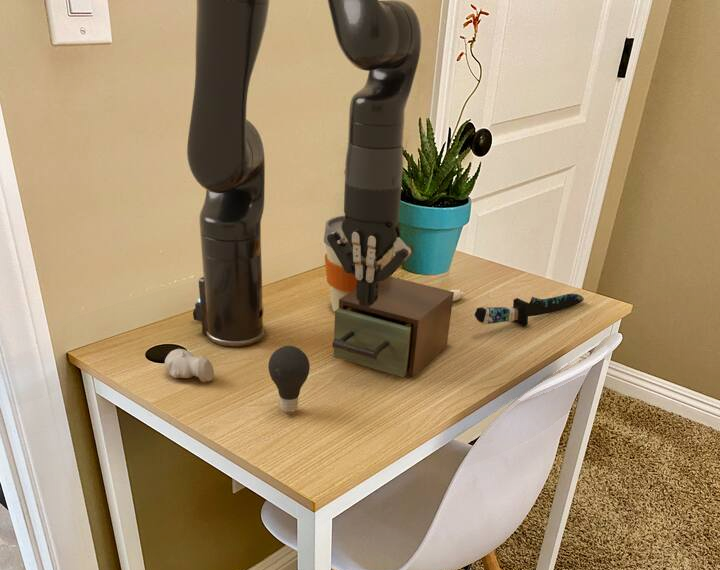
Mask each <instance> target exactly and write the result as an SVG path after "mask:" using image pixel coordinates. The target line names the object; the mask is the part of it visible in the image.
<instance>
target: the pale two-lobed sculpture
mask: <svg viewBox="0 0 720 570" xmlns="http://www.w3.org/2000/svg"><path fill="white" fill-rule="evenodd" d="M164 368H165V371H166V373H167V374H168V375H169V376H171V377H172V378H174V379H179V378H180V379H189V378H190V379H191V378H192V377H193V376H194V377H197V378H199V380H200V382H202V383H207V382H209V381H211V380H213V379H214V376H215V371H214V365H213V364H212V362H211V361H210V359H209V358H208V356H206V355H201V356H199V357H197V356H194V354H193V353H192V352H190V351H188V350H186V349H184V348H176V349H173V350H171V351H169V353H168V354H167V355H166V357H165V359H164Z"/></svg>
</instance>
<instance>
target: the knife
mask: <svg viewBox="0 0 720 570" xmlns="http://www.w3.org/2000/svg"><path fill="white" fill-rule="evenodd" d="M584 299H585V298H584V297H583V296H582V295H580V294H579V293H567V294H562V295H558V296H553V297H548V298H537V297H535V296H531V298H530V301H529V302H527V301H525V300H522V299H520V298H518V297H516V298H514V299H513V301H512V302H513V303H512V306H492V307H491V306H481V307H477V308H476V310H475V313H474V317H475V318H476V320H477V321H478V322H479V324H482V325H483V326H485V325H492V324H499V323H505V322H512V321H513V322H514V323H516V324H518V325H519V326H522V327H526V326H527V325H529V317H536V316H542V315H547V314H552V313H556V312H559V311H563V310H566V309H570V308H572V307H576V305H579V304H580V303H582V302H583V301H584Z"/></svg>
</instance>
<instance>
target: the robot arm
mask: <svg viewBox="0 0 720 570" xmlns="http://www.w3.org/2000/svg"><path fill="white" fill-rule="evenodd" d="M327 5H328V8H329V13H330V18H331V22H332V26H333V31H334V35H335V38H336V41H337V43H338V46H339V48H340V50H341V51H342V53H343V55H344V57H345V58H346V59H347V60H348V61H349V63H350V64H351V65H352V66H354V67H355V68H357V69H359V70H361V71H366V72H368V74H367V78H366V81H365V84H364V86H363V87H362V88H361V89H360V90H358V91H356V92H355V94H353V95H352V97H351V99H350V102H349V111H348V133H347V134H348V136H347V149H346V155H345V166H344V192H343V193H344V196H343V200H344V201H343V213H344V216H345V218H344V220H343V222H342V225H341V227H342V228H341V229H339V230H337V231H335V232H333V233H331V234H330V235H328V237H327V240H328V242H329V244H330V245H331V247H332V249H333V251H334V252H335V254H336V256H337V258H338V259H339V261H340V263H341V265H342V266H343V268H344V270H345V272H346V273H352V274H353V275H355V277H356V279H357V291H356V292H357V293H356V297H357V300H359V304H360V305H363V306H367V307H370V306H371V305H372V304H374V302H375V301H377V299H378V290H379V281H384V280H385V279H387V278H388V277H390V276H391V277H392V275H393V274H394V273H395V272H397V270H398V269H399V268H400V267H401V266H402V265H403V264H404V263H405V262H406V261H407V260H408V259H409V258H410V257H411V255H413V253H414V252H415V249H414V246H412V245H411V244H409V245H407V244H406V243H405V241H403V240H402V238H401V229H400V228H399V219H400V211H401V198H402V197H401V195H402V181H403V170H404V155H403V154H404V153H403V142H404V131H405V129H404V128H405V115H406V114H405V111H406V106H407V103H408V100H409V97H410V94H411V92H412V87H413V84H414V80H415V76H416V72H417V69H418V65H419V62H420V56H421V50H422V29H421V28H422V27H421V23H420V20H419V18H418V14H417V12H416V11H415V9H414V8H413V7H412V6H411V5H410V4H408V3H407V2H405V1H402V0H327ZM269 8H270V0H196V18H195V19H196V20H195V22H196V23H195V68H194V69H195V72H194V73H195V74H194V75H195V76H194V77H195V78H194V89H193V97H192V105H191V114H190V122H189V129H188V135H187V137H188V138H187V145H186V156H187V163H188V166H189V169H190V172H191V174H192V176H193V178H194V179H195V181H196V182H197V183H198V184H199V185H200V186H201V187H202V188H203V189H205V190H206V192H205V196H204V197H205V198H204V202H203V205H202V208H201V210H200V213H199V217H198V218H199V219H198V220H199V222H198V223H199V234H200V245H201V246H200V247H201V249H200V250H201V262H202V263H201V264H202V277H200V278H199V279H198V292H199V293H198V294H199V298H198V300H197V302H196V303H195V304H194V307H195V308H194V309H193V311H192V317H193V321H197V322H200V323H201V333H202V335H204V336H206V337H207V339H208V340H209V341H210V342H212V343H213V344H217V345H220V346H224V347H245V346H250V345H253V344H256V343H258V342H260V341H261V340H262V339H263V337H264V336H265V332H264V310H265V309H264V306H265V305H264V303H263V269H262V268H263V267H262V265H263V264H262V217H263V214H264V209H265V187H266V186H265V185H266V184H265V182H266V181H265V180H266V173H265V172H266V170H265V168H266V165H265V164H266V161H265V149H264V143H263V139H262V137H261V134H260V132H259V130H258V129H257V128H256V127H255V125H254V124H253V123H252V122H251V121H250V120H249V119H247V105H248V104H247V103H248V95H249V86H250V82H251V79H252V74H253V71H254V69H255V64H256V61H257V59H258V55H259V52H260V49H261V46H262V41H263V39H264V36H265V35H264V34H265V31H266V26H267V21H268V15H269ZM348 242H349V243H348ZM349 244H350V245H349ZM393 245H394V248H393V251H392V256H391V257H392V259H391V261H390V262H389V263H388V264H387V265H386V266H385V267H384V268H383V269H382V264H383V262H384V260H385V255H386V254H387V252H388V251H389V250H390V249H391V248H392V247H393ZM350 246H351V247H350ZM351 248H352V249H351Z"/></svg>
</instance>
